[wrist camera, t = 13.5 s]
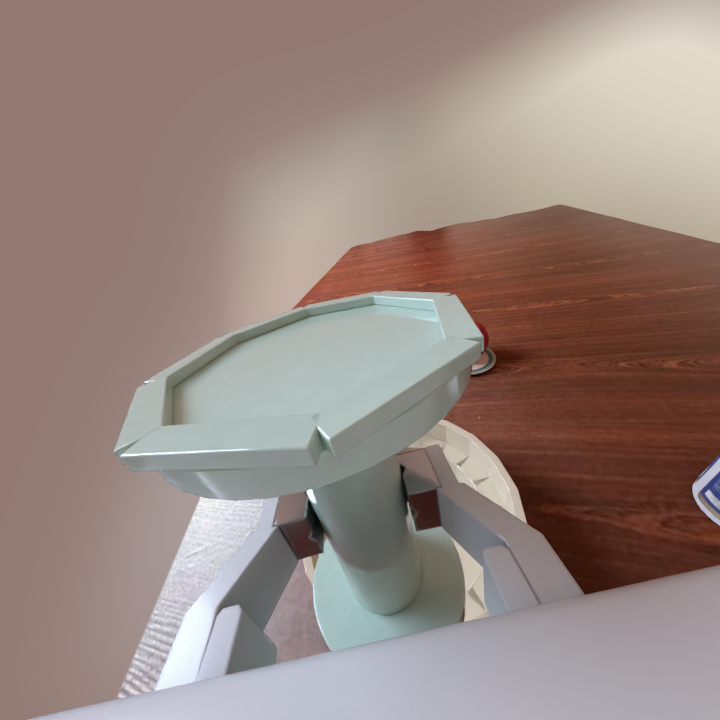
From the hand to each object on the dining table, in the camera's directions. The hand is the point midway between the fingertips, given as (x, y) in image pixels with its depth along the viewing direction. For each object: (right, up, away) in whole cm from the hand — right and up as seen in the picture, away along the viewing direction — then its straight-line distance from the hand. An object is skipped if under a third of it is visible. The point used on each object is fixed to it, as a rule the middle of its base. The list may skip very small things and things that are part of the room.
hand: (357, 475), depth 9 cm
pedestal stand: (+1, -5, +2) cm, 5 cm away
